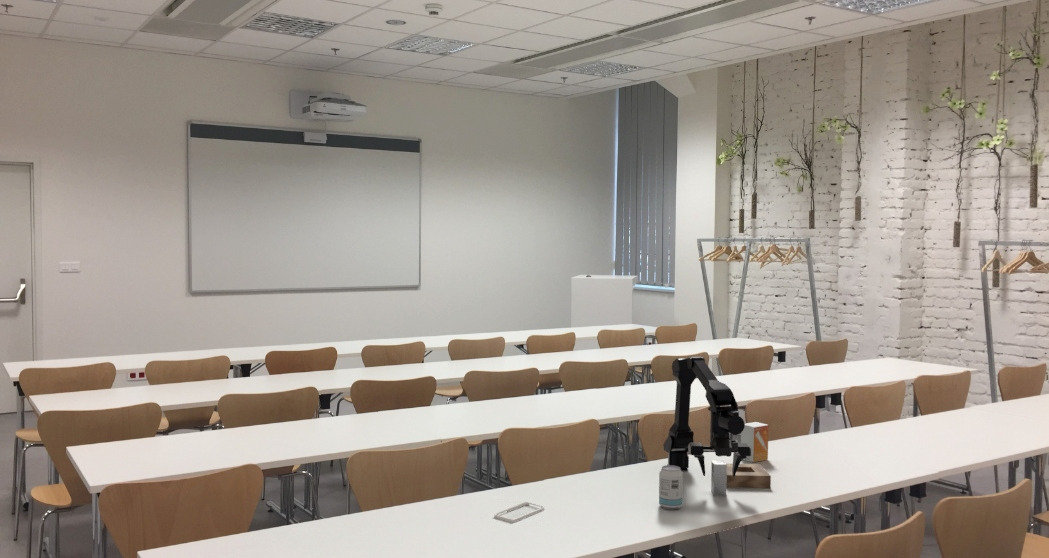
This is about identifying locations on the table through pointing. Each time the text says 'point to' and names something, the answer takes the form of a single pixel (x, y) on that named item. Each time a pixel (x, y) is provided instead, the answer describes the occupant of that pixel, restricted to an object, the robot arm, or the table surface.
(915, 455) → the table surface
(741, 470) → the walnut socket block
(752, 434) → the small box
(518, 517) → the phone case
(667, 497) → the beverage can
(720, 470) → the grey metal peg
